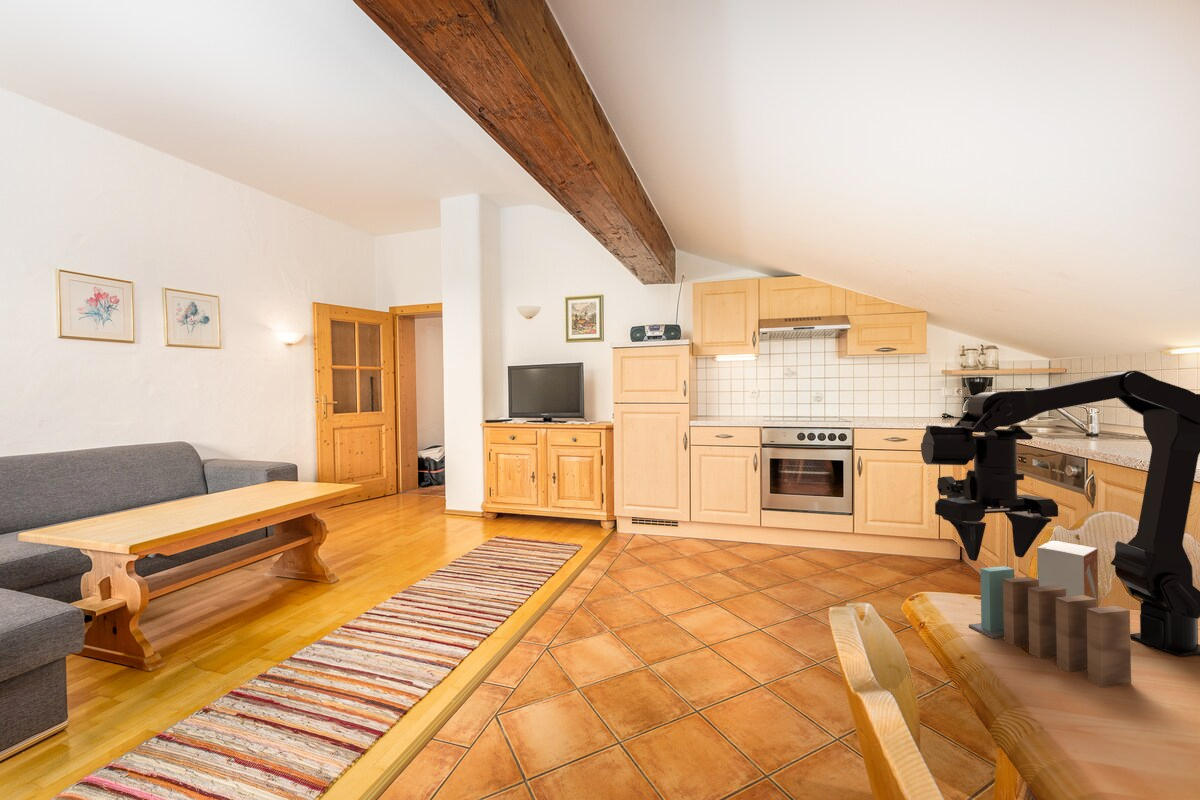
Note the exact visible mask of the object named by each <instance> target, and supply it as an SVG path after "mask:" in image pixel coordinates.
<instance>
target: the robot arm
mask: <svg viewBox="0 0 1200 800" xmlns="http://www.w3.org/2000/svg"><path fill="white" fill-rule="evenodd" d="M1113 399H1117V400H1118V401H1120V402H1121V403H1122V404H1123V405H1124V406H1126V407H1127V408H1128V409H1130V410H1132V411H1134V412H1135V413H1137V414H1139V415H1141V416H1142V421H1143V422H1142V423H1143V424H1142V425H1143V426H1142V427H1143V431H1144V433H1145V436H1146V438H1147V440H1148V442H1149V444H1150V445H1151V446H1150V447H1151V454H1150V458H1149V464H1148V469H1147V475H1146V480H1145V486H1144V492H1143V498H1142V503H1141V507H1140V508H1141V509H1140V514H1139V521H1138V525H1137V531H1136V534H1135V535H1134V536H1133V537H1132V538H1131V539H1130V540H1129V541H1128V542H1127V543H1125V542H1122V541H1119V540H1118V541H1116V543H1115V545H1114V549H1115V551H1114V553H1115V554H1114V556H1113V559H1112V560H1111V562H1110V565H1112V566H1115V568H1114V573H1115V576H1116V577H1118V579H1119V580H1120V581H1121V582H1122V583H1123V584H1124V585H1125V586H1126V589H1127V590H1128V593H1129V595H1131V596H1133V597H1136V598H1139V599H1140V600H1141V602H1140V608H1139V609H1140V614H1139V632H1135V633H1130V639H1133V640H1135V641H1139V642H1141V643H1144V644H1146V645H1149V646H1151V647H1154V648H1157V649H1160V650H1163V651H1165V652H1167V653H1169V654H1172V655H1174V656H1178V657H1179V656H1180V657H1185V656H1186V657H1187V656H1193V655H1200V644H1199V623H1198V622H1199V619H1200V590H1199V589H1198V588H1197V587H1195V586H1194V574H1193V573H1194V571H1193V564H1192V563H1191V561H1190V558H1189V556H1188V554H1187V552H1186V550H1185V548H1184V538H1185V533H1186V526H1187V521H1188V517H1189V516H1188V515H1189V509H1190V505H1191V500H1192V495H1193V494H1192V493H1193V489H1194V484H1195V477H1196V472H1197V466H1198V460H1199V456H1200V393H1195V392H1193V391H1191V390H1189V389H1188V388H1184V387H1182V386H1178V385H1175V384H1171V383H1168V382H1166V381H1163V380H1159V379H1156V378H1154V377H1153V376H1151V375H1149V374H1146V373H1144V372H1142V371H1139V370H1126V371H1113V372H1110V373H1109V374H1108V373H1107V374H1106V375H1101V376H1095V377H1090V378H1086V379H1081V380H1076V381H1071V382H1064V383H1060V384H1056V385H1055V384H1054V385H1050V386H1045V387H1041V388H1035V389H1030V390H1029V389H1028V390H1027V389H1026V390H1011V391H1009V390H1006V391H987V392H986V391H985V392H984V391H983V392H980V393H977V394H975V395H973V396H972V397H971V399H970V401H969V402H968V405H967V410H966V411H965V412H964V414H963V415H962V416H961V418H960V419H958V420H957V422H956V423H955V424H954V425H953V426H939V425H926V426H925V432H924V434H923V437H922V442H921V443H920V453H921V457H922V461H923V462H924V463H925V464H926V465H931V466H932V465H934V466H937V465H938V466H966V465H968V464H969V462H970V461H972V462H973V469H968V470H967V472H966V474H965V475H966V478H964V479H955V478H954V476H952V475H951V476H950V475H949V476H940V477H938V478H937V485H936V486H937V487H936V488H937V491H938V494H939V495H940V496H946V498H945V497H944V498H942V497H941V498H938V499H937V500H936V501H935V503H934V515H936V516H941V518H942V519H943V520H944V521H947V522H949V523H950V524H951V525H952V526H953V527H954V528H955V530H956V532H957V533H958V535H959V539H960V541H961V542H962V545H963V547H964V550H965V552H966V554H967V556H968V557H967V558H968V559H969V560H970V561H973V562H976V561H977V560H978V558H979V555H980V551H981V548H982V543H983V539H984V535H985V530H986V525H987V522H984V521H982V520H983V519H984V518H985V516H986V514H1001V513H1002V514H1003V513H1004V515H1005V516H1006V518H1007V519H1008V520H1009V521H1010V523H1011V530H1012V543H1013V551H1014V555H1015V557H1017V558H1020V559H1021V558H1022V559H1023V558H1024V557H1025V555H1027V552H1028V551H1029V549H1030V548H1031V546H1032V545H1033V543H1034V542H1035V540H1036V539H1037V537H1038V536H1039V534H1041V532H1042V531H1043V530H1044V528H1046V526H1047V524H1048V523H1052V521H1053V518H1055V517H1056V518H1057V517H1059V505H1058V504H1057V503H1056V501H1055V500H1054V499H1053V498H1047V497H1043V496H1038V495H1037V496H1036V495H1031V494H1018V481H1025V474H1024V473H1019V472H1018V458H1017V457H1018V456H1017V454H1018V453H1017V451H1018V450H1017V449H1018V448H1017V445H1018V443H1017V442H1018V440H1019V441H1021V440H1023V441H1026V440H1027V441H1028V440H1029V441H1031V440H1032V439H1033V438H1034V436H1033V435H1032V434H1030V433H1028V432H1027V431H1025V430H1024V428H1023V427H1022V426H1021V425H1017V424H1019V423H1022V422H1024V421H1027V420H1030V419H1032V418H1035V417H1036V416H1038V415H1040V414H1043V413H1045V412H1048V411H1054V410H1060V409H1065V408H1070V407H1076V406H1082V405H1086V404H1091V403H1096V402H1102V401H1103V402H1104V401H1107V400H1113ZM999 427H1007V429H1006V428H1005V429H1003V428H1002V429H998V428H999ZM973 433H984V434H978V435H977V434H973Z"/></svg>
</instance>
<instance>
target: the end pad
mask: <svg viewBox="0 0 1200 800" xmlns="http://www.w3.org/2000/svg"><path fill="white" fill-rule="evenodd" d="M968 627H969V628H971V629H973V630H974V629H975V631H976V630H977V632H979V633H981V634H983V635H985V636H987V637H989V638H991V639H1001V638H1004V630H1001V631H992V632H990V631H988V630H986V629H984V628H981V622H980V623H979V622H978V623H977V622H976V623H970V624H968Z"/></svg>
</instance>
